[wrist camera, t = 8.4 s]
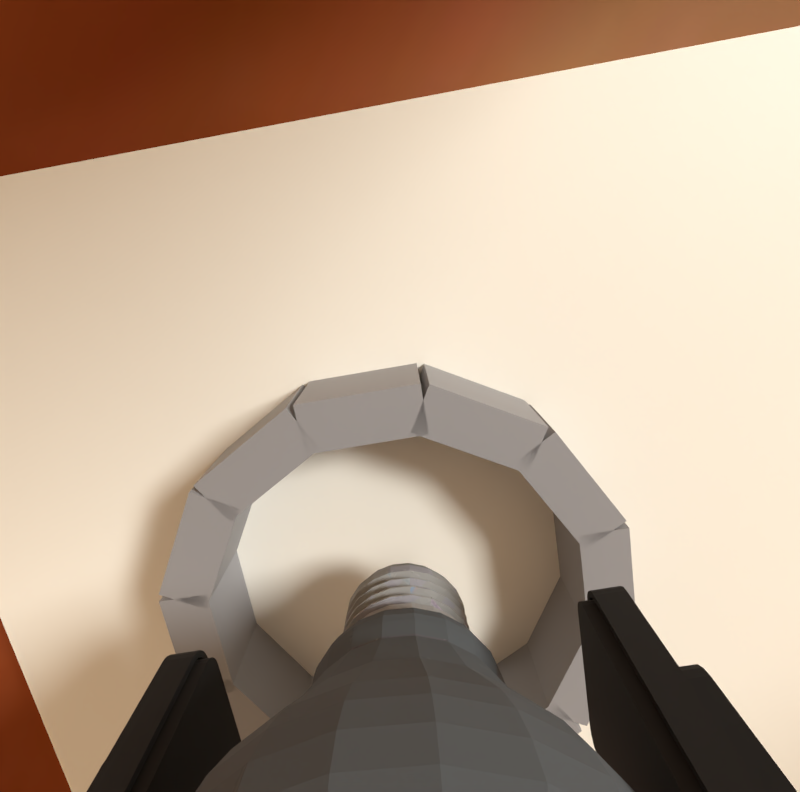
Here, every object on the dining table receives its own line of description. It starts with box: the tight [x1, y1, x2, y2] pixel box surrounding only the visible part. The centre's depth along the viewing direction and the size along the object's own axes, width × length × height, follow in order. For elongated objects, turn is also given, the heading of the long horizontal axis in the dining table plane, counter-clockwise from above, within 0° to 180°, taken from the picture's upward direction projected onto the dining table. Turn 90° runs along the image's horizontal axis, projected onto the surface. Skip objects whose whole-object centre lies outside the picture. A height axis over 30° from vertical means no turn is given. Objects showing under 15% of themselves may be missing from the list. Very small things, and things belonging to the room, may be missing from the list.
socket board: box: [0, 26, 800, 792], centre depth 13 cm, size 20×20×4 cm
